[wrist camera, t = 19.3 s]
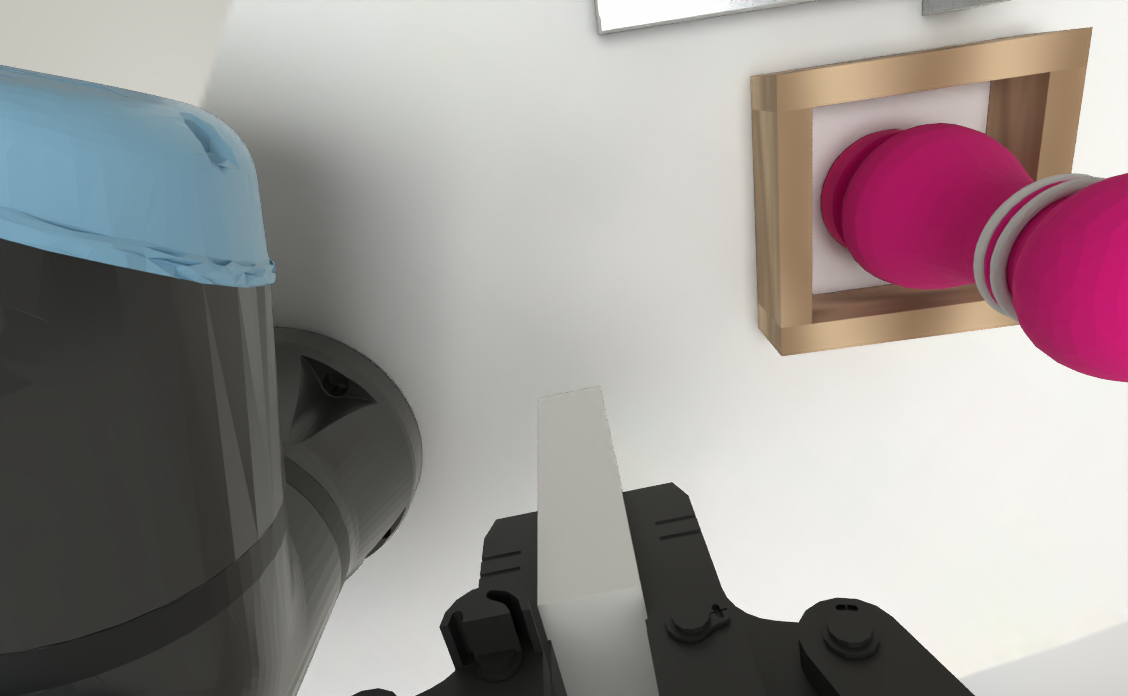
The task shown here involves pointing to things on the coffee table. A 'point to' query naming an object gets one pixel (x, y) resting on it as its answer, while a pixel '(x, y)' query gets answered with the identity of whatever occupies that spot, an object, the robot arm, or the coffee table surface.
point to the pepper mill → (991, 235)
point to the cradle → (785, 99)
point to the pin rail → (715, 10)
